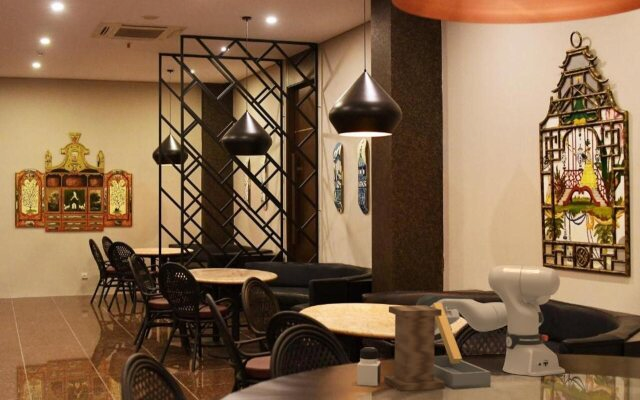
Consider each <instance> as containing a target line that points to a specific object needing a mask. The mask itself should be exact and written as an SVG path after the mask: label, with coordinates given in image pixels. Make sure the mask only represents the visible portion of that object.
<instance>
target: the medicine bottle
mask: <svg viewBox="0 0 640 400" xmlns="http://www.w3.org/2000/svg"><path fill="white" fill-rule="evenodd" d="M359 353H360V354H359V360H360V361H359V362H358V363H357V366H356V385H357V386H365V387H367V386H368V387H378V386H379V385H380V384H381V381H382V380H381V378H382V377H381V374H382V373H381V371H382V370H381V368H382V367H381V366H382V365H381V360H379V350H378V349H377V348H375V347H363V348H361V349H360V351H359Z"/></svg>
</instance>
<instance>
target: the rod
mask: <svg viewBox="0 0 640 400" xmlns="http://www.w3.org/2000/svg"><path fill="white" fill-rule="evenodd" d="M432 307H436V308H437V309H441V310H442V312H441V316H435V320H436V323H437V326H438V328H439V331H440V334H441V337H442V340H443V341H442V342H443V345H444V347H445V350H446V353H447V356H449V359H450V362H451V364H456V363H460V361H461V360H463V358H462V355H461V352H460V349H459V347H458V344H457V342H456V339H455V338H456V337H455V336H454V334H453V329H452V330H451V328H452V327H451V328H450V325H451V324H450V325H449V322H448V319H447V317H446V314H445V311H444V309H443V306H442V303H434V304H433V306H432Z"/></svg>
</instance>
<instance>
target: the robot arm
mask: <svg viewBox="0 0 640 400" xmlns="http://www.w3.org/2000/svg"><path fill="white" fill-rule="evenodd" d="M487 278H488V279H487V281H488V286H489V287H490V289H491V290H492V292H494V293H495V294H496V295H498V297H499V298H500V299H501V300H502V302H501V301H500V302H499V301H497V302H496V301H495V302H494V301H493V302H485V303H482V302H478V301H476V300H474V299H473V298H471V297H468V296H455V295H454V296H453V295H452V296H451V295H437V294H433V293H431V294H426V295H422V296H421V297H419V298H418V299H417V302H416V303H415V304H416V305H415V306H419V305H427V306H430V307H432V306H433V304H434V303H442V306H443V309H444V311H445V314H446V317H447V319H448V322H449V325H450V328H451V330H452V331H453V329H452V324H455V323H456V322H458V320H459V319H460V315H461V316H462V317H463V318H464V320H465V321H466V322H467V324H468V325H469V326H470V327H471V328H472V329H473V330H475V331H477V332H489V331H494V330H497V329H501V328H503V327H505V326H507V331H506V334H505V337H506V338H505V342H506V343H505V345H506V353H505V358H504V364H503V366H502V367H503V368H502V371H503V372H506V373H509V374H513V375H519V376H520V375H521V376H529V377H544V376H550V375H558V374H559V375H560V374H565V373H566V370H565V368H563V367H561V366H560V364H559V359H558V356H557V354H556V353H555V352H553V350H551V349H550V348H549V347H548V346H546V345H545V344H544V343H543V341H546V342H547V341H548V339H549V336H548V334H547V335H546V334H541V333H539V327H540V326H541V325H543V323H544V320H545V319H544V314H543V312H542V311H541V308H540V306H541V305H544V304H546V303H548V301H549V300H550V298H551V296H553V295H555V294H556V293H557V292H558V290H559V288H560V284H561V280H560V279H561V278H560V275H559V274H558V272H557V271H556V270H555V269H554V268H551V267H547V266H546V267H545V266H542V265H541V266H539V265H523V264H522V265H519V264H501V265H496V266H493V267H492V268H491V270H490V272H489V273H488V277H487ZM434 308H436V307H434ZM441 342H443V340H442V337H441V334H440V331H439V328H438V326H437V323H436V320H435V333H434V345H436V344H439V343H441Z"/></svg>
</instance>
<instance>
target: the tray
mask: <svg viewBox="0 0 640 400" xmlns="http://www.w3.org/2000/svg"><path fill="white" fill-rule="evenodd" d="M491 374H492V372H491V371H489V370H487V369H485V368H482V367H480V366H477V365H474V364H473V363H469V362H468V361H465V360H463V359H461V361H460V363H456V364H451V362H450V359H449V356H448V355H434V377H435V378H437V379H439V380H441V381H443V382H445V387H448V388H449V389H452V390H461V389H474V388H475V389H476V388H490V387H491V385H492V384H491V382H492V381H491V378H492V376H491Z"/></svg>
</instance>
